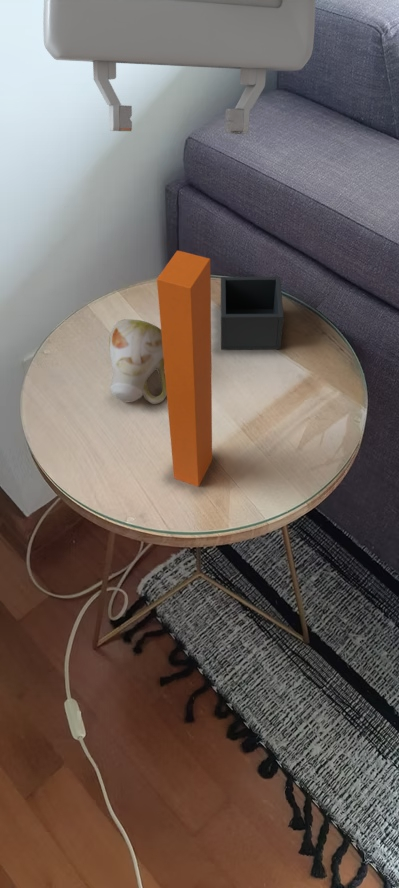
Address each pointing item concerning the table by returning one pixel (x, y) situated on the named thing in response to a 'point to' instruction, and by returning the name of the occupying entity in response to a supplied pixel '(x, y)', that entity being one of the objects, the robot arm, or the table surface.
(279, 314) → the bin
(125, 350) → the mug
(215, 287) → the table surface
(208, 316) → the block
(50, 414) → the table surface
